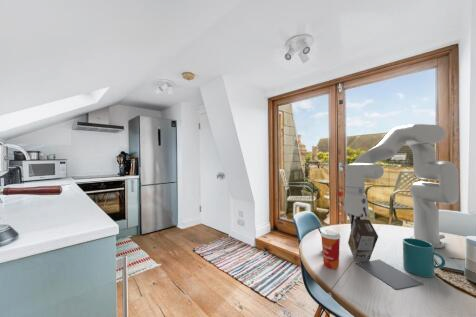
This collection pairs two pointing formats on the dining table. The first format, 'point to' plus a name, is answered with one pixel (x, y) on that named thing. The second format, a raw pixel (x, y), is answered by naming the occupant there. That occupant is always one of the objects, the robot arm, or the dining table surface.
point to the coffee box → (362, 239)
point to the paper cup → (330, 248)
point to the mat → (389, 274)
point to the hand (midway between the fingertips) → (355, 230)
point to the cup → (420, 257)
